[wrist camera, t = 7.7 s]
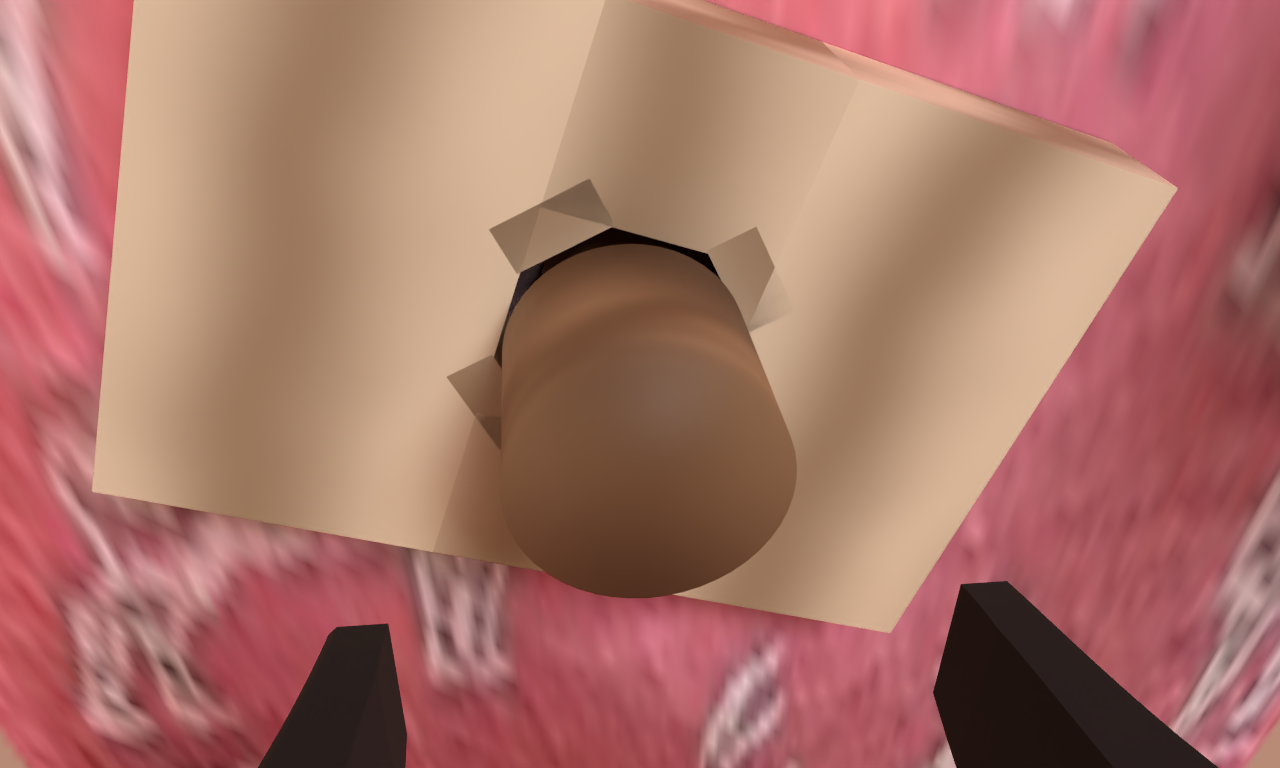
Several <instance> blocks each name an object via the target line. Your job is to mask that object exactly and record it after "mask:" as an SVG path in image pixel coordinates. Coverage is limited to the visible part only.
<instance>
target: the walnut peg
mask: <svg viewBox="0 0 1280 768" xmlns="http://www.w3.org/2000/svg"><path fill="white" fill-rule="evenodd" d="M796 477H797V462H796V454H795V449H794V446H793V442H792V439H791V436H790V433H789V431H788V428H787V426H786V423H785V421H784V418H783V416H782V413H781V411H780V408H779V406H778V403H777V401H776V399H775V396H774V394H773V391H772V389H771V386H770V384H769V381H768V379H767V376H766V374H765V371H764V369H763V366H762V364H761V361H760V359H759V356H758V354H757V351H756V349H755V346H754V344H753V341H752V339H751V336H750V334H749V331H748V329H747V326H746V324H745V321H744V319H743V316H742V314H741V311H740V309H739V307H738V305H737V303H736V301H735V299H734V297H733V296H732V294H731V293H730V291H729V290H728V288H727V287H726V285H725V284H724V283H723V282H722V281H721V280H720V279H719V278H718V277H717V276H716V275H715V274H714V273H713V272H711V271H710V270H709V269H708V268H706V267H705V266H704V265H702V264H700V263H699V262H697V261H695V260H694V259H692V258H690V257H688V256H686V255H683V254H681V253H679V252H676V251H674V249H673V247H672V246H671V245H670V243H667V242H664V241H660V240H657V239H653V238H649V237H646V236H642V235H638V234H635V233H631V232H628V231H624V230H620V229H617V228H613V227H611V228H609V229H607V230H605V231H603V232H601V233H599V234H597V235H595V236H593V237H591V238H589V239H587V240H585V241H583V242H581V243H579V244H577V245H575V246H573V247H571V248H569V249H567V250H565V251H563V252H561V253H559V254H557V255H554V256H552V257H550V258H548V259H546V260H545V263H544V266H543V270H542V275H541V277H540V278H539V279H537V280H536V281H535V282H534V283H533V284H532V285H531V287H530V288H529V289H528V290H527V291H526V292H525V293H524V295H523V296H522V297H521V299H520V300H519V302H518V303H517V305H516V306H515V308H514V310H513V312H512V314H511V316H510V318H509V321H508V324H507V327H506V330H505V333H504V339H503V345H502V416H501V503H502V509H503V515H504V517H505V520H506V523H507V526H508V529H509V531H510V533H511V534H512V536H513V538H514V540H515V542H516V543H517V544H518V546H519V547H520V548H521V550H522V551H523V552H524V554H525V555H526V556H527V557H528V558H529V559H530V560H531V561H532V562H533V563H534V564H535V565H537V566H538V567H539V568H541V569H542V570H543V571H545V572H546V573H547V574H549V575H551V576H552V577H554V578H556V579H558V580H559V581H561V582H563V583H565V584H568V585H570V586H573V587H575V588H577V589H580V590H584V591H587V592H591V593H594V594H599V595H605V596H610V597H620V598H651V597H660V596H667V595H672V594H677V593H681V592H685V591H688V590H691V589H695V588H698V587H701V586H703V585H706V584H708V583H710V582H713V581H715V580H717V579H719V578H721V577H723V576H725V575H726V574H728V573H730V572H732V571H733V570H735V569H736V568H738V567H739V566H741V565H742V564H744V563H745V562H747V561H748V560H749V559H750V558H751V557H752V556H754V555H755V554H756V553H757V552H758V551H759V550H760V549H761V548H762V547H763V546H764V545H765V544H766V543H767V542H768V541H769V540H770V539H771V537H772V536H773V535H774V533H775V532H776V530H777V529H778V528H779V526H780V525H781V523H782V521H783V519H784V517H785V516H786V514H787V512H788V509H789V507H790V504H791V501H792V499H793V495H794V490H795V486H796Z"/></svg>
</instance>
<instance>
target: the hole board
mask: <svg viewBox="0 0 1280 768" xmlns="http://www.w3.org/2000/svg"><path fill="white" fill-rule="evenodd" d="M1177 189H1178V188H1177V187H1176V186H1174V185H1173V184H1171V183H1170V182H1168V181H1167V180H1165V179H1164V178H1162V177H1161V176H1159V175H1158V174H1156V173H1155V172H1154V171H1152V170H1151V169H1149V168H1148V167H1146V166H1145V165H1143V164H1142V163H1140V162H1139V161H1137V160H1136V159H1135V158H1133V157H1132V156H1130V155H1129V154H1127V153H1126V152H1124V151H1123V150H1121V149H1120V148H1118V147H1117V146H1115V145H1114V144H1113V143H1111V142H1108V141H1105V140H1102V139H1099V138H1097V137H1094V136H1091V135H1088V134H1085V133H1082V132H1079V131H1077V130H1074V129H1071V128H1068V127H1065V126H1062V125H1059V124H1057V123H1054V122H1051V121H1048V120H1045V119H1042V118H1039V117H1036V116H1034V115H1031V114H1028V113H1025V112H1022V111H1019V110H1016V109H1014V108H1011V107H1008V106H1005V105H1002V104H999V103H996V102H994V101H991V100H988V99H985V98H982V97H979V96H976V95H973V94H971V93H968V92H965V91H962V90H959V89H956V88H953V87H951V86H948V85H945V84H942V83H939V82H936V81H933V80H931V79H928V78H925V77H922V76H919V75H916V74H913V73H911V72H908V71H905V70H902V69H899V68H896V67H893V66H890V65H888V64H885V63H882V62H879V61H876V60H873V59H870V58H868V57H865V56H862V55H859V54H856V53H853V52H850V51H848V50H845V49H842V48H839V47H836V46H833V45H830V44H827V43H825V42H822V41H819V40H816V39H813V38H810V37H807V36H805V35H802V34H799V33H796V32H793V31H790V30H787V29H785V28H782V27H779V26H776V25H773V24H770V23H767V22H765V21H762V20H759V19H756V18H753V17H750V16H747V15H744V14H742V13H739V12H736V11H733V10H730V9H727V8H724V7H722V6H719V5H716V4H713V3H710V2H707V1H704V0H134V6H133V18H132V29H131V41H130V53H129V65H128V76H127V88H126V100H125V112H124V123H123V135H122V147H121V158H120V170H119V182H118V194H117V205H116V217H115V229H114V240H113V252H112V264H111V276H110V287H109V299H108V311H107V322H106V334H105V346H104V358H103V369H102V381H101V393H100V404H99V416H98V428H97V440H96V451H95V463H94V475H93V486H92V492H97V493H103V494H108V495H114V496H120V497H125V498H131V499H136V500H142V501H148V502H153V503H159V504H165V505H170V506H176V507H182V508H187V509H193V510H198V511H204V512H210V513H215V514H221V515H227V516H232V517H238V518H244V519H249V520H255V521H261V522H266V523H272V524H277V525H283V526H289V527H294V528H300V529H306V530H311V531H317V532H323V533H328V534H334V535H339V536H345V537H351V538H356V539H362V540H368V541H373V542H379V543H385V544H390V545H396V546H401V547H407V548H413V549H418V550H424V551H430V552H435V553H441V554H447V555H452V556H458V557H464V558H469V559H475V560H480V561H486V562H492V563H497V564H503V565H509V566H514V567H520V568H526V569H531V570H537V571H542V572H545V571H543V570H542V569H541V568H539V567H538V566H537V565H535V564H534V563H533V562H532V561H531V560H530V559H529V558H528V557H527V556H526V555H525V554H524V552H523V551H522V550H521V548H520V547H519V546H518V544H517V543H516V542H515V540H514V538H513V536H512V534H511V533H510V531H509V529H508V526H507V523H506V520H505V517H504V515H503V509H502V503H501V416H502V345H503V339H504V333H505V330H506V327H507V324H508V321H509V316H508V315H507V313H508V310H509V307H510V304H511V300H512V297H513V294H514V291H515V288H516V284H517V281H518V278H519V275H520V272H522V271H524V270H526V269H528V268H530V267H532V266H534V265H536V264H538V263H540V262H542V261H544V260H546V259H548V258H550V257H552V256H554V255H557V254H559V253H561V252H563V251H565V250H567V249H569V248H571V247H573V246H575V245H577V244H579V243H581V242H583V241H585V240H587V239H589V238H591V237H593V236H595V235H597V234H599V233H601V232H603V231H605V230H607V229H609V228H611V227H613V228H617V229H620V230H624V231H628V232H631V233H635V234H638V235H642V236H646V237H649V238H653V239H657V240H660V241H664V242H667V243H671V244H675V245H678V246H682V247H685V248H689V249H693V250H696V251H700V252H703V253H707V254H708V255H709V257H710V259H711V261H712V263H713V265H714V267H715V269H716V271H717V273H718V275H719V277H720V280H721V281H722V282H723V283H724V284H725V285H726V287H727V288H728V290H729V291H730V293H731V294H732V296H733V297H734V299H735V301H736V303H737V305H738V307H739V309H740V311H741V314H742V316H743V319H744V321H745V324H746V326H747V329H748V331H749V334H750V336H751V339H752V341H753V344H754V346H755V349H756V351H757V354H758V356H759V359H760V361H761V364H762V366H763V369H764V371H765V374H766V376H767V379H768V381H769V384H770V386H771V389H772V391H773V394H774V396H775V399H776V401H777V403H778V406H779V408H780V411H781V413H782V416H783V418H784V421H785V423H786V426H787V428H788V431H789V433H790V436H791V439H792V442H793V446H794V449H795V454H796V462H797V477H796V486H795V490H794V495H793V499H792V501H791V504H790V507H789V509H788V512H787V514H786V516H785V517H784V519H783V521H782V523H781V525H780V526H779V528H778V529H777V530H776V532H775V533H774V535H773V536H772V537H771V539H770V540H769V541H768V542H767V543H766V544H765V545H764V546H763V547H762V548H761V549H760V550H759V551H758V552H757V553H756V554H755V555H754V556H752V557H751V558H750V559H749V560H748V561H747V562H745V563H744V564H742V565H741V566H739V567H738V568H736V569H735V570H733V571H732V572H730V573H728V574H726V575H725V576H723V577H721V578H719V579H717V580H715V581H713V582H710V583H708V584H706V585H703V586H701V587H698V588H695V589H691V590H688V591H685V592H681V593H677V594H672V595H678V596H683V597H689V598H695V599H700V600H706V601H712V602H717V603H723V604H729V605H734V606H740V607H745V608H751V609H757V610H762V611H768V612H774V613H779V614H785V615H791V616H796V617H802V618H808V619H813V620H819V621H824V622H830V623H836V624H841V625H847V626H853V627H858V628H864V629H870V630H875V631H881V632H886V633H891V631H892V630H893V628H894V627H895V625H896V623H897V622H898V620H899V619H900V617H901V616H902V614H903V613H904V611H905V610H906V608H907V606H908V605H909V603H910V602H911V600H912V599H913V597H914V596H915V594H916V593H917V591H918V589H919V588H920V586H921V585H922V583H923V582H924V580H925V579H926V577H927V576H928V574H929V572H930V571H931V569H932V568H933V566H934V565H935V563H936V562H937V560H938V559H939V557H940V555H941V554H942V552H943V551H944V549H945V548H946V546H947V545H948V543H949V542H950V540H951V538H952V537H953V535H954V534H955V532H956V531H957V529H958V528H959V526H960V525H961V523H962V521H963V520H964V518H965V517H966V515H967V514H968V512H969V511H970V509H971V508H972V506H973V504H974V503H975V501H976V500H977V498H978V497H979V495H980V494H981V492H982V491H983V489H984V488H985V486H986V484H987V483H988V481H989V480H990V478H991V477H992V475H993V474H994V472H995V471H996V469H997V467H998V466H999V464H1000V463H1001V461H1002V460H1003V458H1004V457H1005V455H1006V454H1007V452H1008V450H1009V449H1010V447H1011V446H1012V444H1013V443H1014V441H1015V440H1016V438H1017V437H1018V435H1019V433H1020V432H1021V430H1022V429H1023V427H1024V426H1025V424H1026V423H1027V421H1028V420H1029V418H1030V416H1031V415H1032V413H1033V412H1034V410H1035V409H1036V407H1037V406H1038V404H1039V403H1040V401H1041V399H1042V398H1043V396H1044V395H1045V393H1046V392H1047V390H1048V389H1049V387H1050V386H1051V384H1052V382H1053V381H1054V379H1055V378H1056V376H1057V375H1058V373H1059V372H1060V370H1061V369H1062V367H1063V365H1064V364H1065V362H1066V361H1067V359H1068V358H1069V356H1070V355H1071V353H1072V352H1073V350H1074V348H1075V347H1076V345H1077V344H1078V342H1079V341H1080V339H1081V338H1082V336H1083V335H1084V333H1085V331H1086V330H1087V328H1088V327H1089V325H1090V324H1091V322H1092V321H1093V319H1094V318H1095V316H1096V314H1097V313H1098V311H1099V310H1100V308H1101V307H1102V305H1103V304H1104V302H1105V301H1106V299H1107V298H1108V296H1109V294H1110V293H1111V291H1112V290H1113V288H1114V287H1115V285H1116V284H1117V282H1118V281H1119V279H1120V277H1121V276H1122V274H1123V273H1124V271H1125V270H1126V268H1127V267H1128V265H1129V264H1130V262H1131V260H1132V259H1133V257H1134V256H1135V254H1136V253H1137V251H1138V250H1139V248H1140V247H1141V245H1142V243H1143V242H1144V240H1145V239H1146V237H1147V236H1148V234H1149V233H1150V231H1151V230H1152V228H1153V226H1154V225H1155V223H1156V222H1157V220H1158V219H1159V217H1160V216H1161V214H1162V213H1163V211H1164V209H1165V208H1166V206H1167V205H1168V203H1169V202H1170V200H1171V199H1172V197H1173V196H1174V194H1175V192H1176V191H1177Z"/></svg>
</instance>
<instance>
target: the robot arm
mask: <svg viewBox="0 0 1280 768" xmlns="http://www.w3.org/2000/svg"><path fill="white" fill-rule="evenodd" d="M933 693H934V697H935V700H936V704H937V707H938V710H939V714H940V717H941V720H942V724H943V727H944V730H945V734H946V737H947V740H948V743H949V746H950V749H951V752H952V755H953V758H954V761H955V764H956V767H957V768H1218V767H1217V766H1216V765H1214V764H1213V763H1212V762H1211V761H1209V760H1208V759H1207V758H1206V757H1204V756H1203V755H1202V754H1201V753H1199V752H1198V751H1197V750H1196V749H1194V748H1193V747H1192V746H1191V745H1189V744H1188V743H1187V742H1186V741H1184V740H1183V739H1182V738H1181V737H1179V736H1178V735H1177V734H1176V733H1175V732H1173V731H1172V730H1171V729H1170V728H1169V727H1168V726H1166V725H1165V724H1164V723H1163V722H1162V721H1160V720H1159V719H1158V718H1157V717H1156V716H1155V715H1153V714H1152V713H1151V712H1150V711H1149V710H1148V709H1146V708H1145V707H1144V706H1143V705H1142V704H1141V703H1139V702H1138V701H1137V700H1136V699H1135V698H1134V697H1133V696H1132V695H1130V694H1129V693H1128V692H1127V691H1126V690H1125V689H1124V688H1122V687H1121V686H1120V685H1119V684H1118V683H1117V682H1116V681H1115V680H1114V679H1112V678H1111V677H1110V676H1109V675H1108V674H1107V673H1106V672H1105V671H1104V670H1102V669H1101V668H1100V667H1099V666H1098V665H1097V664H1096V663H1095V662H1094V661H1093V660H1091V659H1090V658H1089V657H1088V656H1087V655H1086V654H1085V653H1084V652H1083V651H1082V650H1081V649H1080V648H1078V647H1077V646H1076V645H1075V644H1074V643H1073V642H1072V641H1071V640H1070V639H1069V638H1068V637H1067V636H1066V635H1064V634H1063V633H1062V632H1061V631H1060V630H1059V629H1058V628H1057V627H1056V626H1055V625H1054V624H1053V623H1052V622H1051V621H1049V620H1048V619H1047V618H1046V617H1045V616H1044V615H1043V614H1042V613H1041V612H1040V611H1039V610H1038V609H1037V608H1036V607H1035V606H1033V605H1032V604H1031V603H1030V602H1029V601H1028V600H1027V599H1026V598H1025V597H1024V596H1023V595H1022V594H1020V593H1019V592H1018V591H1017V590H1016V589H1015V588H1014V587H1013V586H1012V585H1011V584H1009V583H1008V582H1007V581H1002V582H987V583H973V584H961V587H960V591H959V594H958V598H957V602H956V606H955V610H954V614H953V618H952V622H951V625H950V629H949V633H948V637H947V641H946V645H945V649H944V653H943V656H942V660H941V664H940V668H939V672H938V676H937V680H936V684H935V687H934V691H933ZM406 742H407V732H406V726H405V720H404V714H403V708H402V703H401V697H400V691H399V685H398V679H397V673H396V667H395V661H394V655H393V649H392V643H391V638H390V632H389V626H388V624H376V625H361V626H347V627H337V628H335V629H334V630H333V631H332V632H331V633H330V634H329V635H328V637H327V639H326V642H325V644H324V646H323V648H322V650H321V653H320V655H319V657H318V659H317V661H316V663H315V665H314V667H313V669H312V671H311V673H310V675H309V677H308V679H307V681H306V683H305V685H304V687H303V689H302V691H301V693H300V695H299V697H298V698H297V700H296V702H295V704H294V706H293V708H292V709H291V711H290V713H289V715H288V717H287V719H286V720H285V722H284V724H283V726H282V728H281V730H280V731H279V733H278V735H277V736H276V738H275V740H274V741H273V743H272V745H271V746H270V748H269V750H268V752H267V753H266V755H265V757H264V758H263V760H262V762H261V763H260V765H259V767H258V768H405V763H406Z"/></svg>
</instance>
